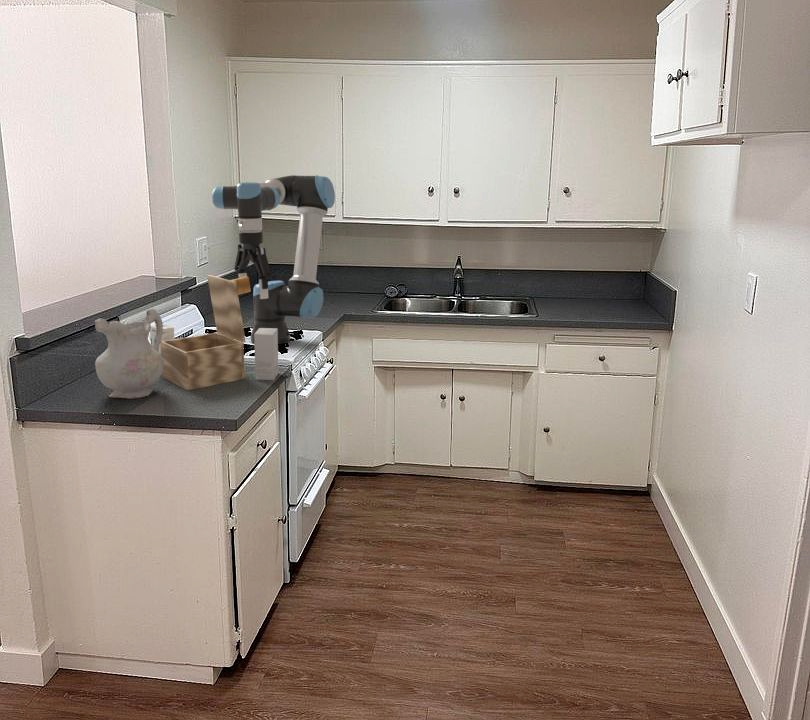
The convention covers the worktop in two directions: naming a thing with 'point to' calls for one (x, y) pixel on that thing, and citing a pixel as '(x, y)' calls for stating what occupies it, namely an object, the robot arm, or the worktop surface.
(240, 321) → the lid
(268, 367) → the skincare box
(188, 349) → the carton
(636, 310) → the worktop surface
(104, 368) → the ceramic pitcher
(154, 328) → the syrup box
